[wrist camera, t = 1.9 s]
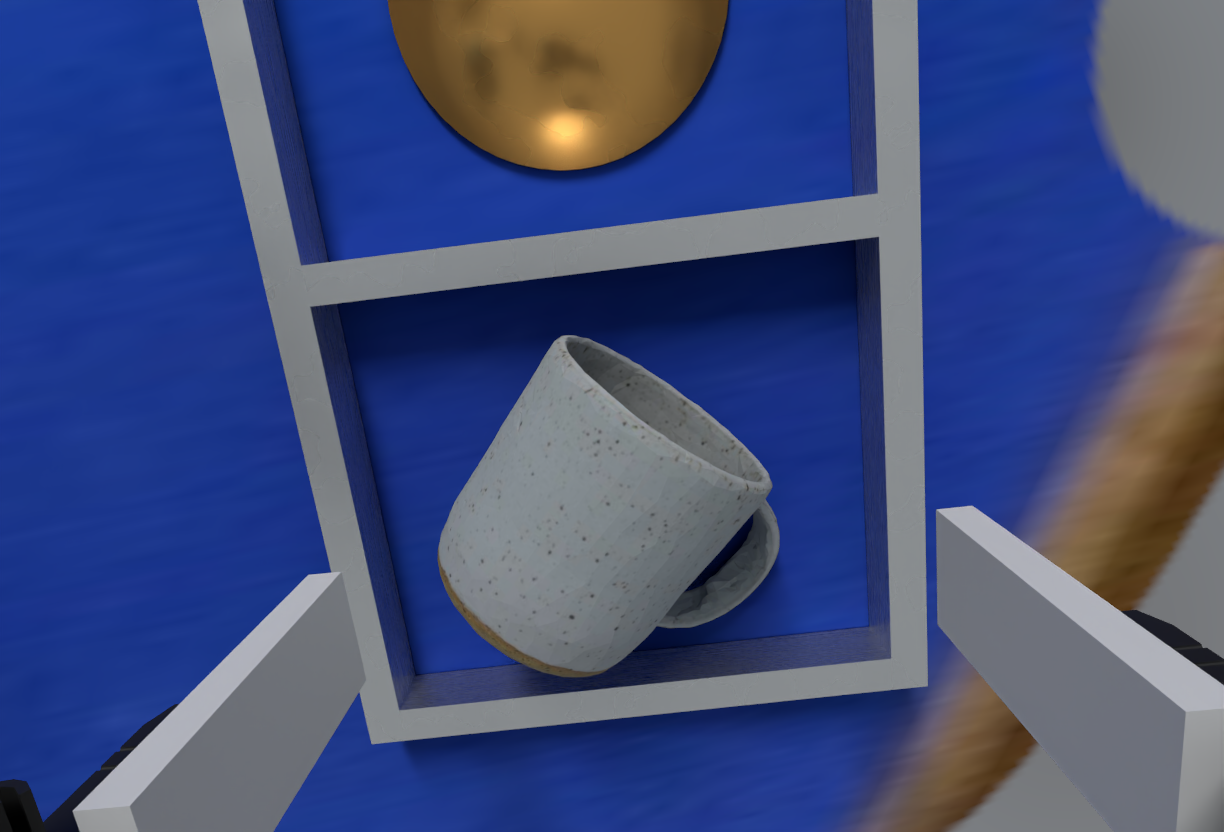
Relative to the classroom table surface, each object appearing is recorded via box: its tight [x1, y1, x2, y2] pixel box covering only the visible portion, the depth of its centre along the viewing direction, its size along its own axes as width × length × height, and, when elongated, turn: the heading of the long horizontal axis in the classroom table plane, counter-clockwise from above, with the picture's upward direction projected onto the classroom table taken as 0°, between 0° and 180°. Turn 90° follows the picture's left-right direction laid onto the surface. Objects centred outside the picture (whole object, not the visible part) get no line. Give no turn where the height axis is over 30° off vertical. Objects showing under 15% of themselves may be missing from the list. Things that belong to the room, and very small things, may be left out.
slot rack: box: [198, 0, 928, 744], centre depth 21 cm, size 19×31×2 cm, turn 7°
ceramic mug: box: [438, 335, 779, 677], centre depth 20 cm, size 10×8×7 cm
